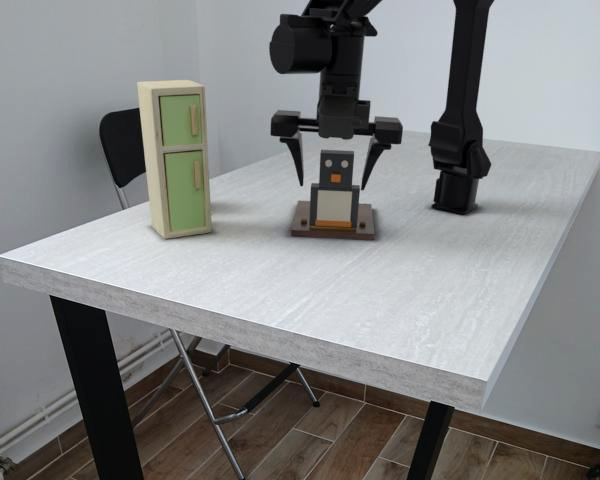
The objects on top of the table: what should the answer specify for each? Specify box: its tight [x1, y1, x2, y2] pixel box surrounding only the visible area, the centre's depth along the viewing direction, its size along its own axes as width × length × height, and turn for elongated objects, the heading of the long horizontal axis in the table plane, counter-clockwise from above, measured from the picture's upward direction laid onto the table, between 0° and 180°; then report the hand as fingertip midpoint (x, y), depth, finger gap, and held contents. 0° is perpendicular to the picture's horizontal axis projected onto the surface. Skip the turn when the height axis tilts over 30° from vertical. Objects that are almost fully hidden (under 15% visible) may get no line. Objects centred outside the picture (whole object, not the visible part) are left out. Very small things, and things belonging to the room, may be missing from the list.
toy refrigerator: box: [136, 79, 213, 240], centre depth 96 cm, size 8×7×21 cm
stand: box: [290, 200, 375, 241], centre depth 107 cm, size 16×13×2 cm
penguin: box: [309, 149, 361, 228], centre depth 99 cm, size 11×8×3 cm
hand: (332, 187), depth 97 cm, fingers open, 9 cm apart
